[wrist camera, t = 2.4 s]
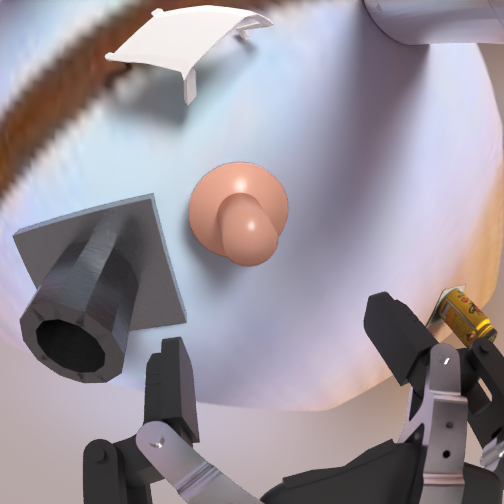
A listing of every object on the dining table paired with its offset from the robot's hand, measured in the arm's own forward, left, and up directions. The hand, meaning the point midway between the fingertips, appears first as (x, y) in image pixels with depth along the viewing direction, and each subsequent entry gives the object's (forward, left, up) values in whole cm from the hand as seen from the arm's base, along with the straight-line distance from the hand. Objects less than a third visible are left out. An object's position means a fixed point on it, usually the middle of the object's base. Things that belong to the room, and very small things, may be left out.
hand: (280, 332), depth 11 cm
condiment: (-35, +24, -17) cm, 46 cm away
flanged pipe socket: (+15, +5, -16) cm, 23 cm away
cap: (0, 0, -17) cm, 17 cm away
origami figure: (+1, -14, -17) cm, 22 cm away
